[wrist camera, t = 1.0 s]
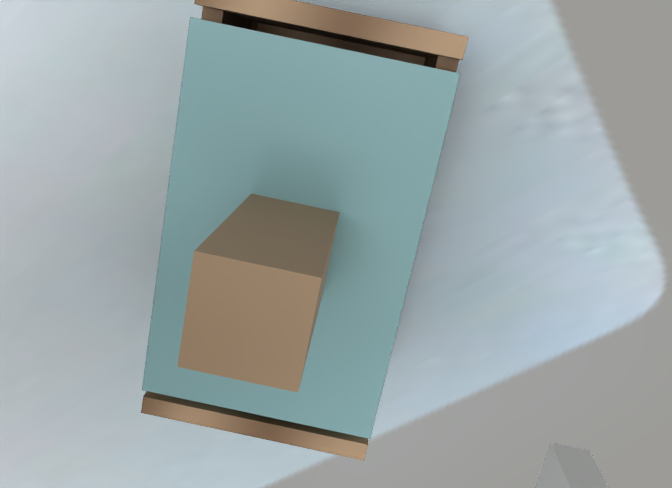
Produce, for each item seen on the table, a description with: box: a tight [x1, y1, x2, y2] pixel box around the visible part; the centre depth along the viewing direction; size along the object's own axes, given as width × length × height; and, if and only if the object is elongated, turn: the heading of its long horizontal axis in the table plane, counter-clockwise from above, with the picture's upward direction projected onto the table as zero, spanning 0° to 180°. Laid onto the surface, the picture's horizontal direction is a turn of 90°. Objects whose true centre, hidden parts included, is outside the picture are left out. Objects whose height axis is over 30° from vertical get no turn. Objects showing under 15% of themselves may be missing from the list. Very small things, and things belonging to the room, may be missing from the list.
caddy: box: [141, 0, 468, 460], centre depth 30 cm, size 10×18×9 cm, turn 169°
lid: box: [142, 17, 460, 439], centre depth 22 cm, size 10×15×10 cm, turn 169°
